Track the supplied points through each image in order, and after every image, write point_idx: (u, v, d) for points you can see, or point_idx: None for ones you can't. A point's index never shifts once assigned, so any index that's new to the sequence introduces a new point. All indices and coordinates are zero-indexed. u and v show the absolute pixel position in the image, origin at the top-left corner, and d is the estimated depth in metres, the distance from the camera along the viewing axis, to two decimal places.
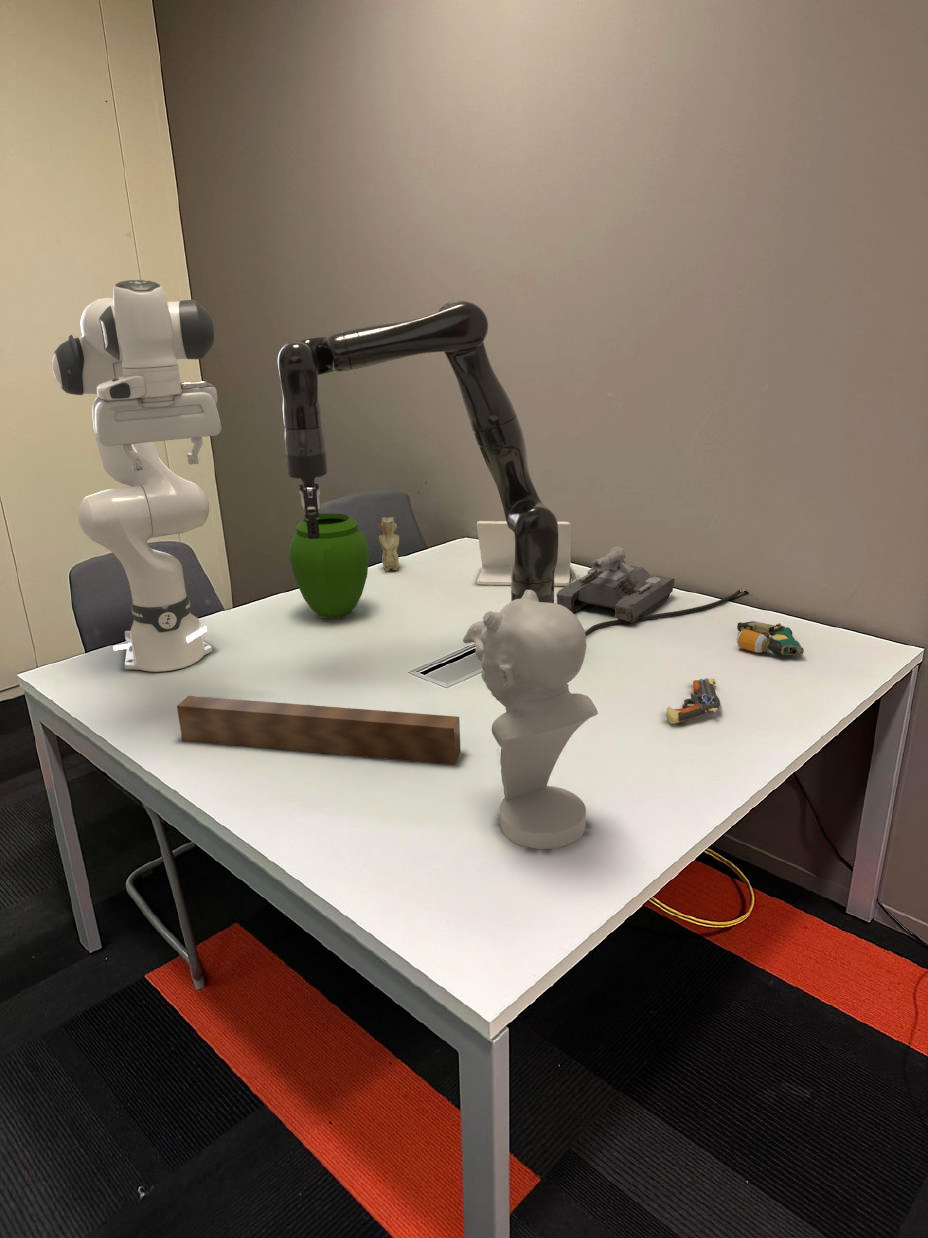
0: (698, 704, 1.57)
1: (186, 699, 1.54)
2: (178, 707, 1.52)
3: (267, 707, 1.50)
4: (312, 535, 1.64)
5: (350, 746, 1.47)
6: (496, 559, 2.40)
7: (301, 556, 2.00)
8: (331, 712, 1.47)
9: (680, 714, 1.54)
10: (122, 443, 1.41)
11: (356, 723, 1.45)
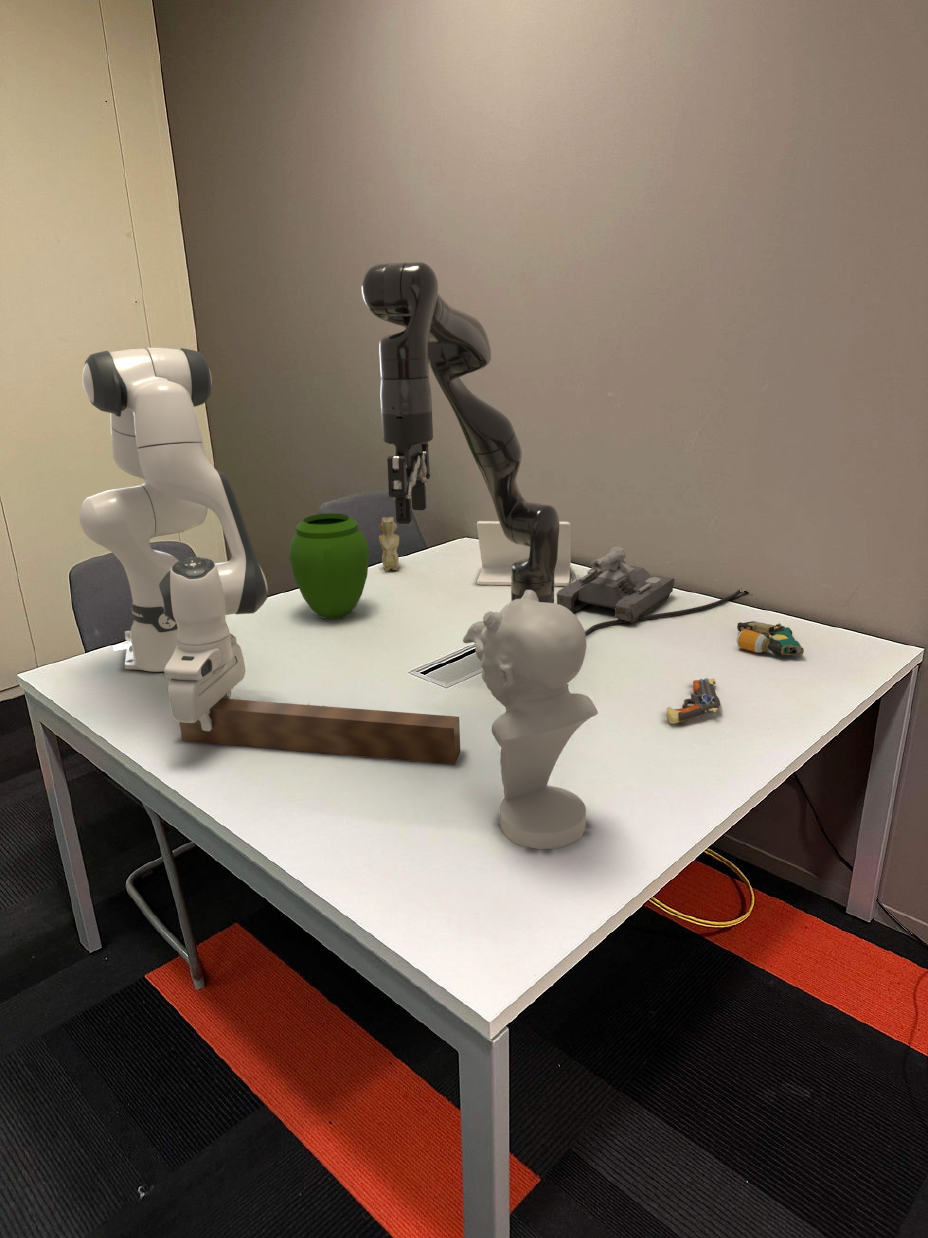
0: (698, 704, 1.57)
1: None
2: None
3: (267, 707, 1.50)
4: None
5: (350, 746, 1.47)
6: (496, 559, 2.40)
7: (301, 556, 2.00)
8: (331, 712, 1.47)
9: (680, 714, 1.54)
10: (202, 714, 1.45)
11: (356, 722, 1.45)
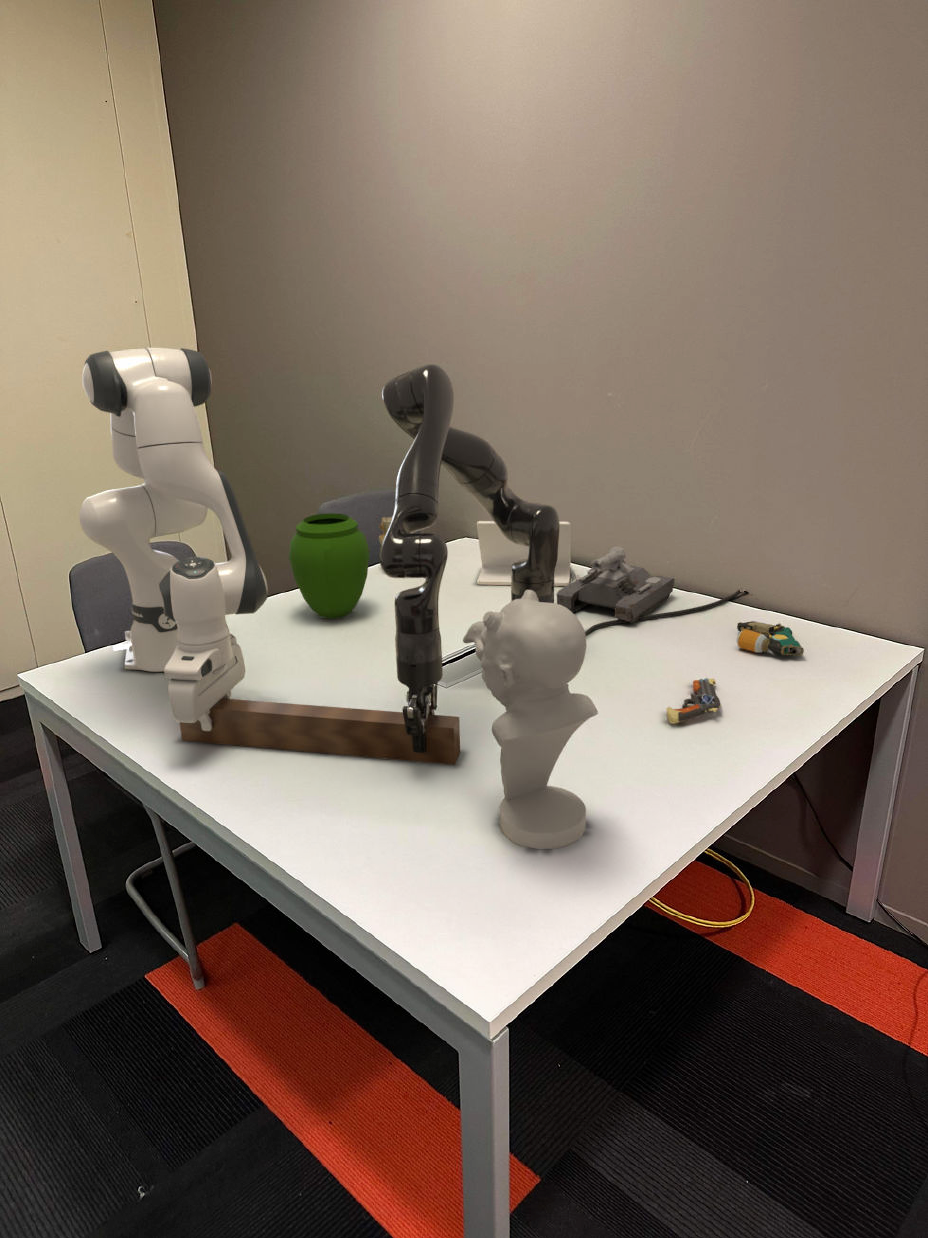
0: (698, 704, 1.57)
1: None
2: None
3: (267, 707, 1.50)
4: None
5: (350, 746, 1.47)
6: (496, 559, 2.40)
7: (301, 556, 2.00)
8: (331, 712, 1.47)
9: (680, 714, 1.54)
10: (202, 714, 1.45)
11: (356, 723, 1.45)
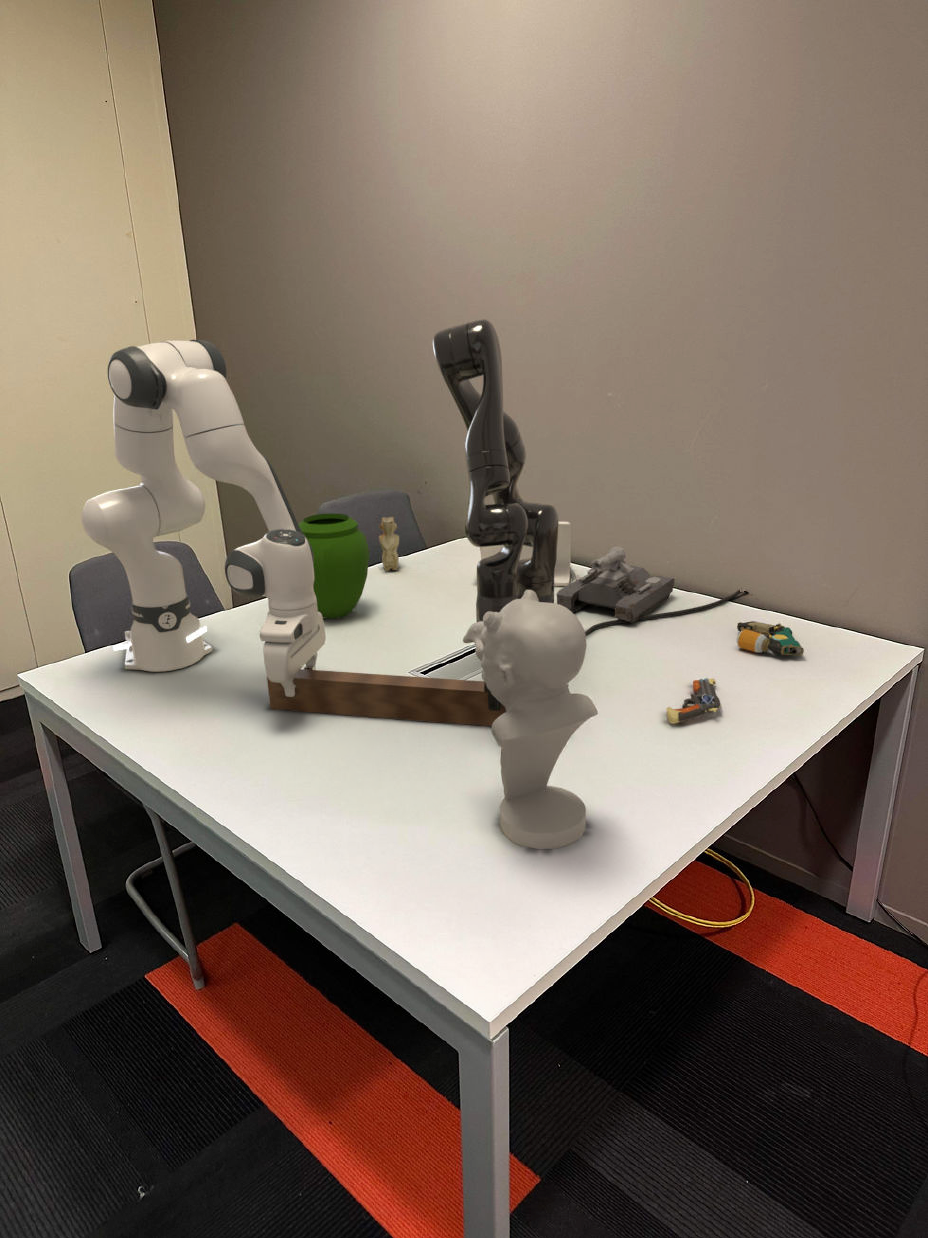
0: (698, 704, 1.57)
1: None
2: None
3: (352, 677, 1.61)
4: None
5: (431, 712, 1.57)
6: None
7: None
8: (413, 681, 1.58)
9: (680, 714, 1.54)
10: (293, 675, 1.56)
11: (437, 690, 1.55)
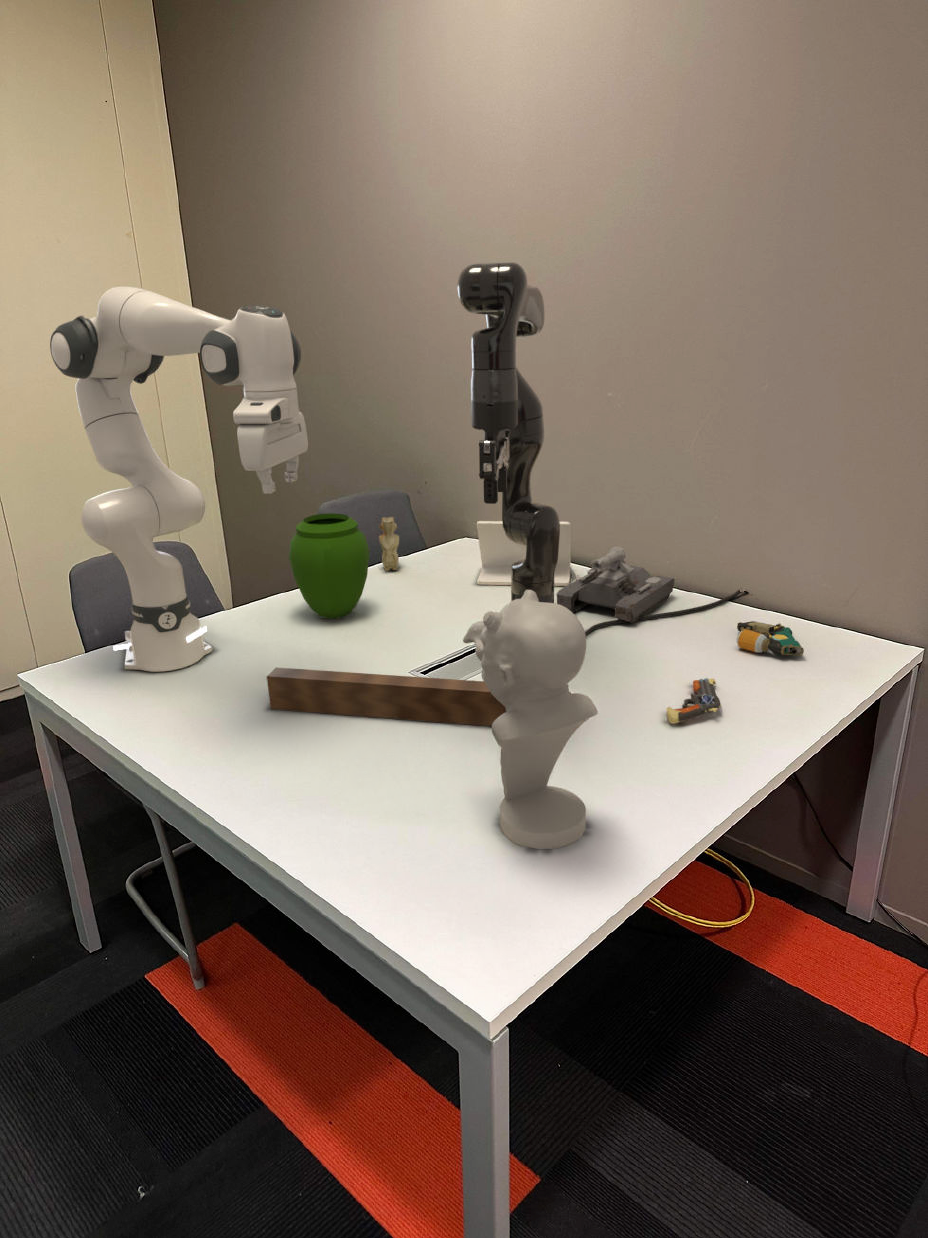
0: (698, 704, 1.57)
1: (274, 670, 1.65)
2: (268, 677, 1.63)
3: (352, 677, 1.61)
4: None
5: (431, 712, 1.57)
6: (496, 559, 2.40)
7: (301, 556, 2.00)
8: (413, 681, 1.58)
9: (680, 714, 1.54)
10: (270, 466, 1.42)
11: (437, 690, 1.55)
